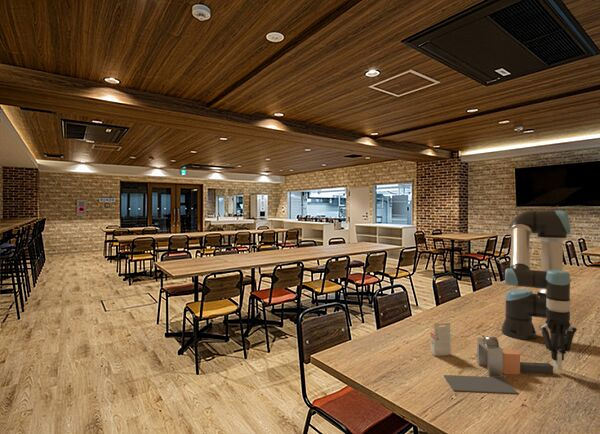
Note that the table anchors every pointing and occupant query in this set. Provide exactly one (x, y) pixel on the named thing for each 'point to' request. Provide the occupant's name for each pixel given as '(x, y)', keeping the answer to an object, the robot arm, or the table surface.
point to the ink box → (441, 340)
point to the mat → (480, 384)
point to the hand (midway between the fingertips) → (557, 368)
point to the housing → (490, 356)
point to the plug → (522, 364)
